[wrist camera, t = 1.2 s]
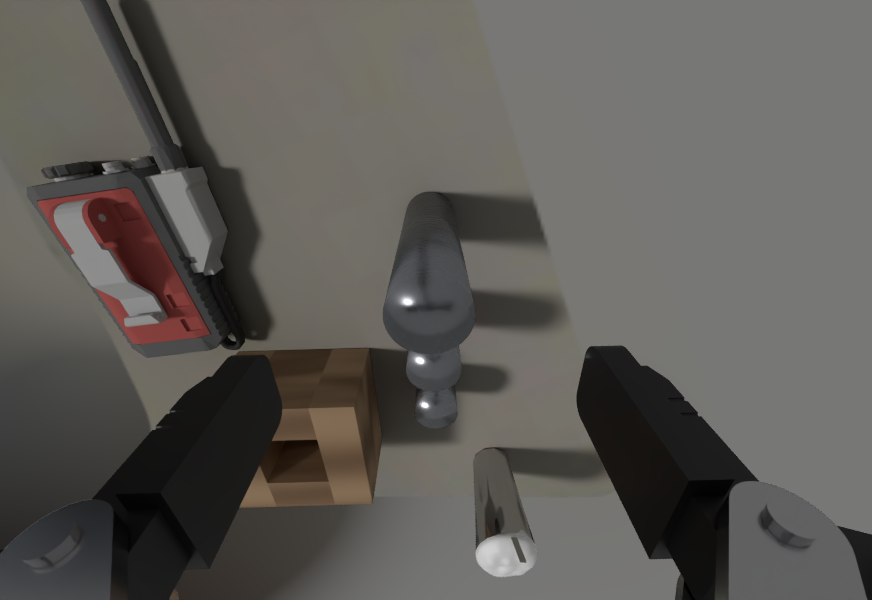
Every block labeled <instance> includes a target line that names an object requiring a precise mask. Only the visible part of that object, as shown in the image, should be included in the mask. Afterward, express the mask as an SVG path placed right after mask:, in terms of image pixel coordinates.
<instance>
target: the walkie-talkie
mask: <svg viewBox="0 0 872 600" xmlns="http://www.w3.org/2000/svg"><path fill="white" fill-rule="evenodd" d="M81 2H82V4H83V6H84V9H85V11H86V13H87V15H88V17H89V19H90V21H91V23H92V25H93V27H94V29H95V31H96V33H97V35H98V37H99V39H100V41H101V43H102V46H103V48H104V50H105V52H106V54H107V56H108V58H109V60H110V62H111V64H112V66H113V68H114V70H115V72H116V74H117V76H118V78H119V81H120V83H121V85H122V87H123V89H124V91H125V93H126V95H127V97H128V99H129V101H130V103H131V105H132V107H133V109H134V111H135V113H136V115H137V118H138V120H139V122H140V124H141V126H142V128H143V130H144V132H145V134H146V136H147V138H148V140H149V142H150V144H151V146H152V147H151V149H150V151H151V153H152V155H153V157H154V159H155V161H156V163H157V165H158V166H155V165H156V164H155V163H152V162H151V160H150V158H149V156H144V157H138V158H132V159H131V160H132V162H133V164H134V167H132V169H133V170H129V169H128V168H124V166H123V164H122V163H121V161H114V162H107V163H102V165H103V168H104V169H105V171H106V172H103V174H99V175H91V174H90V172H92V171H93V170H94V167H93V166H92V164H91V163H90V162H87V161H85V162H78V163H72V164H65V165H59V166H52V167H46V168H43V169H42V170H41V172H42V173H43V175H44V176H45V177H46V178H49V179H52V178H53V179H54V180H55V182H52V183H47V184H42V185H37V186H32V187H27V197H28V198H29V200H30V201H31V202H32V204H33V205H34V207H35V208H36V210H37V211H38V213H39V214H40V216H41V217H42V218H43V220H44V221H45V223H46V224H47V226H48V227H49V229H50V230H51V231H52V233H53V234H54V236H55V237H56V239H57V240H58V242H59V243H60V244H61V246H62V247H63V249H64V250H65V252H66V253H67V255H68V256H69V257H70V259H71V260H72V262H73V263H74V265H75V266H76V268H77V269H78V270H79V271H80V272H81V274H82V276H83V277H84V278H85V279H86V281H87V282H88V285H89V286H90V287H91V288H92V290H93V292H94V293H95V294H96V295H97V297H98V299H99V301H101V303H102V304H103V307H104V308H105V309H106V310H107V311H108V314H109V315H110V316H111V317H112V318H113V321H114V322H115V323H116V324H117V326H118V328H119V329H120V330H121V332H122V333H123V336H125V337H126V339H127V341H128V343H130V345H131V346H132V348H133V349H134V350H136V351H137V352H139V353H140V354H142V355H143V356H145V357H147V358H150V357H159V356H167V355H176V354H184V353H192V352H201V351H208V350H211V349H214V348H217V347H218V346H219V344H221V345H222V346H223V347H224V348H226V349H229V350H237V349H240V348H241V346H242V345H243V344H244V342H245V335H244V332H243V330H242V328H241V326H240V324H239V322H238V320H239V319H240V318H238V317H237V315H236V314H237V312H236V311H234V309H233V307H234V306H233V305H231V303H230V298H228V296H227V291H225V290H224V288H223V287H224V285H223V284H221V282H220V280H221V275H220V272H219V271H220V270H221V269H222V268H223V265H222V262H221V260H220V259H221V255H222V252H223V248H224V244H225V241H226V237H227V234H228V230H227V228H226V225H225V223H224V221H223V219H222V216H221V214H220V212H219V209H218V207H217V205H216V202H215V200H214V198H213V195H212V193H211V191H210V189H209V186H208V184H207V181H208V178H207V176H206V173H205V171H204V169H203V167H195V168H189V167H188V166H187V164H186V162H185V160H184V158H183V155H182V153H181V151H180V149H179V147H178V145H176V144H174V143H173V141H172V139H171V136H170V134H169V132H168V130H167V128H166V125H165V123H164V121H163V119H162V116H161V114H160V112H159V110H158V108H157V105H156V103H155V101H154V99H153V97H152V94H151V92H150V90H149V88H148V86H147V83H146V81H145V79H144V77H143V74H142V72H141V70H140V68H139V66H138V63H137V62H136V61H135V60H134V59H133V57H132V55H131V52H130V50H129V48H128V46H127V44H126V42H125V39H124V37H123V35H122V33H121V31H120V29H119V27H118V24H117V22H116V20H115V18H114V16H113V14H112V12H111V9H110V7H109V5H108V3H107V1H106V0H81ZM231 331H232V332H233V334H234V336H235V338H236V342H235V341H231V340H230V339H229V338H228V334H229V333H230V332H231Z"/></svg>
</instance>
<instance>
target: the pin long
mask: <svg viewBox="0 0 872 600" xmlns="http://www.w3.org/2000/svg"><path fill="white" fill-rule="evenodd" d="M383 321H384V325H385V328H386V330H387V332H388V334H389V335H390V336H391V338H392V339H393V340H394V341H395V342H396V343H398V344H399V345H400V346H402V347H403V348H405V349H407V350H410V351H412V352H416V353H421V354H438V353H443V352H446V351H449V350H451V349H453V348H455V347H457V346H458V345H459V344H461V343H462V342H463V341H464V340H465V339H466V338H467V337H468V336H469V334H470V332H471V331H472V328H473V326H474V323H475V307H474V302H473V298H472V293H471V289H470V284H469V280H468V275H467V270H466V266H465V261H464V257H463V252H462V248H461V243H460V239H459V234H458V230H457V225H456V221H455V216H454V211H453V208H452V205H451V203H450V202H449V201H448V199H447V198H445V197H444V196H443V195H441V194H439V193H436V192H424V193H421V194H419V195H417V196H415V197H414V198H413V199H412V200H411V201H410V203H409V205H408V207H407V210H406V214H405V219H404V223H403V227H402V231H401V236H400V240H399V244H398V248H397V252H396V257H395V261H394V265H393V269H392V274H391V278H390V282H389V286H388V291H387V295H386V299H385V303H384V308H383Z"/></svg>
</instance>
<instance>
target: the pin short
mask: <svg viewBox="0 0 872 600" xmlns="http://www.w3.org/2000/svg"><path fill="white" fill-rule="evenodd" d="M415 417H416V419H417V421H418V422H419V423H420V424H421V425H423V426H425V427H427V428H432V429H440V428H444V427H447V426H449V425H451V424H452V423H453V422H454V421H455V420H456V418H457V403H456V392H455V384H454V385H453V386H452V387H450V388H448V389H446V390H442V391H436V392H431V391H425V390H422V389H419V388H417V387H416V403H415Z"/></svg>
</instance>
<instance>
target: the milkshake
mask: <svg viewBox="0 0 872 600" xmlns="http://www.w3.org/2000/svg"><path fill="white" fill-rule="evenodd" d="M473 472H474V497H475V523H476V524H475V527H476V559H477V562H478V563H479V565H480V566H481V567H482V568H483V569H484V570H485V571H487V572H488V573H490V574H491V575H493V576H496V577H509V576H513V575H522V574H524V573H525V572H526V571H527V570H529V569H531V568H532V567H533V566H534V564H535V562H536V559H537V554H538V553H537V548H536V546H535V542H534V539H533V536H532V533H531V530H530V527H529V524H528V521H527V518H526V515H525V512H524V509H523V506H522V503H521V499H520V496H519V493H518V489H517V486H516V483H515V480H514V476H513V473H512V470H511V466H510V463H509V460H508V457H507V456H506V454H505V453H504V451H502V450H499V449H496V448H489V449H483V450H481V451H480V452H478V453H477V454H475V458H474V461H473Z"/></svg>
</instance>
